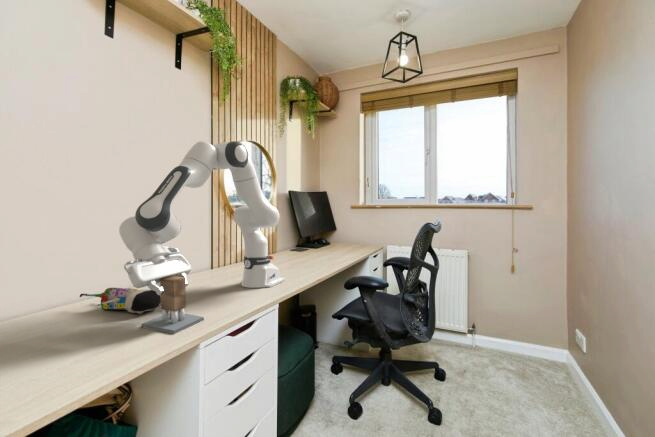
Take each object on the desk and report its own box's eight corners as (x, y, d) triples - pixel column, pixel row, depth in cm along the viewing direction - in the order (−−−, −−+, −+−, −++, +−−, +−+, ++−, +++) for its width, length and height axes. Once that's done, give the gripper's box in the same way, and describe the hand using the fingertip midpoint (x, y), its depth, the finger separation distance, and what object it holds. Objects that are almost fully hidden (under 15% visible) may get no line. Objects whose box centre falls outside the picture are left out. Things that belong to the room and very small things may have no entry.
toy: (62, 316, 106) (125, 322, 97) (62, 291, 106) (125, 294, 97) (124, 301, 128) (180, 304, 119) (124, 280, 128) (180, 282, 119)
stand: (173, 314, 107) (172, 300, 107) (203, 319, 102) (203, 305, 101) (141, 326, 96) (141, 311, 95) (174, 333, 91) (173, 317, 90)
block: (172, 304, 102) (171, 275, 101) (185, 307, 100) (185, 277, 99) (160, 309, 98) (160, 278, 97) (174, 311, 95) (173, 280, 95)
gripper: (126, 256, 90) (150, 291, 87) (181, 247, 110) (202, 276, 106) (116, 269, 92) (139, 305, 89) (172, 258, 111) (193, 287, 108)
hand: (174, 289), depth 98 cm, fingers open, 8 cm apart
